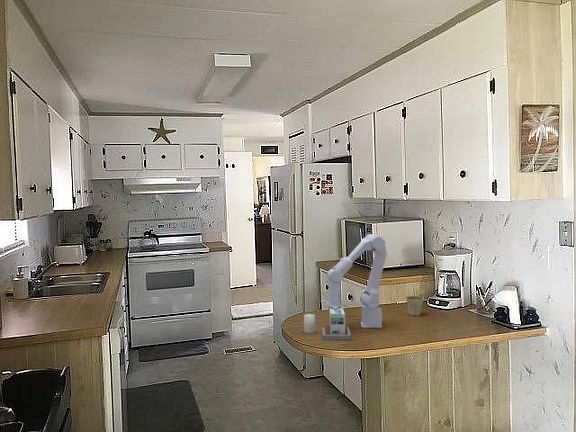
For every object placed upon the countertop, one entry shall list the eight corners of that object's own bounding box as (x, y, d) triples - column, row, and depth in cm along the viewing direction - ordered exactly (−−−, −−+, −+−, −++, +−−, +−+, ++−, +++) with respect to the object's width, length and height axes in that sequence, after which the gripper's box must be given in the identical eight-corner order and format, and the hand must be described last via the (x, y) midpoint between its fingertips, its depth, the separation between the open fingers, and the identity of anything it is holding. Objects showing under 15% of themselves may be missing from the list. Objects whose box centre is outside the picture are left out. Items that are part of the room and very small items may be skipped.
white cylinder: (314, 330, 238) (314, 313, 237) (315, 333, 233) (314, 316, 232) (304, 330, 238) (304, 313, 237) (304, 333, 233) (304, 316, 232)
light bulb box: (345, 337, 227) (345, 313, 226) (330, 337, 227) (330, 313, 226) (343, 330, 237) (343, 307, 236) (329, 330, 238) (329, 307, 237)
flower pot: (426, 313, 265) (426, 297, 264) (420, 317, 257) (421, 300, 256) (409, 311, 270) (409, 295, 269) (403, 315, 262) (403, 298, 261)
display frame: (348, 331, 236) (348, 327, 235) (351, 340, 223) (351, 335, 223) (322, 331, 236) (322, 327, 236) (322, 340, 223) (322, 335, 223)
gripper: (325, 290, 246) (325, 318, 247) (326, 298, 231) (326, 327, 232) (340, 290, 246) (340, 318, 247) (342, 298, 231) (342, 327, 232)
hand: (334, 322), depth 240 cm, fingers closed
